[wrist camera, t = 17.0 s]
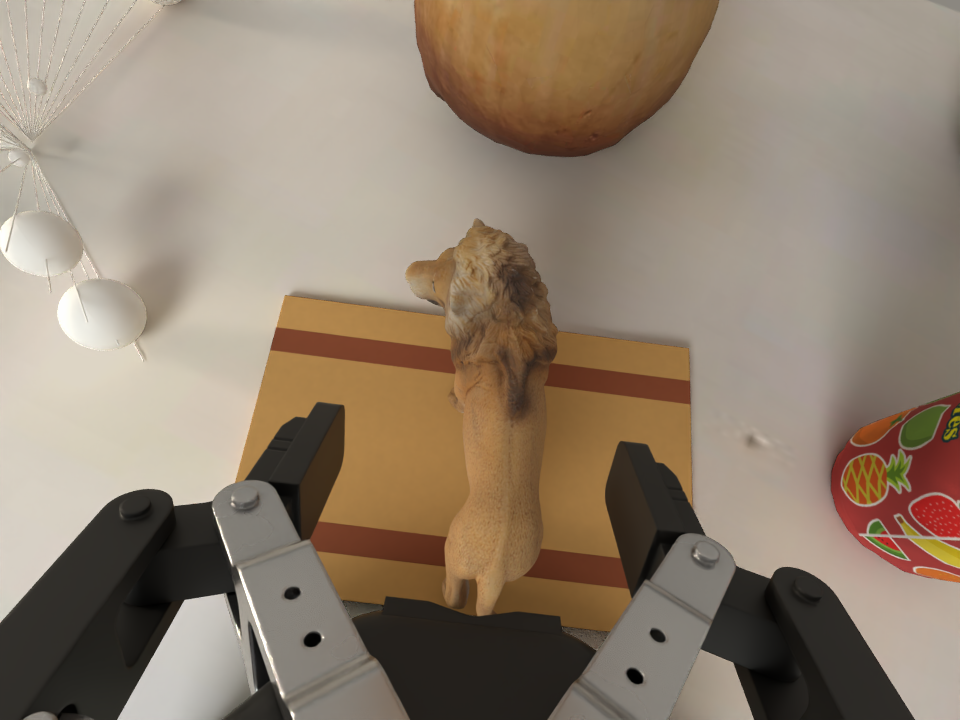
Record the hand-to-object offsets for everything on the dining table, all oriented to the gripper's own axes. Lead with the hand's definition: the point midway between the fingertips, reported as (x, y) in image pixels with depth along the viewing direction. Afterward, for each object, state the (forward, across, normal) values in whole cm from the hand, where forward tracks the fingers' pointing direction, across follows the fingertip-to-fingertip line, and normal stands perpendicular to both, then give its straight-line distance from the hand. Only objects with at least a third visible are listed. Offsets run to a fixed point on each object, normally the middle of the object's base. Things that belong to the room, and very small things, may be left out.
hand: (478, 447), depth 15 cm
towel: (+7, 0, +5) cm, 9 cm away
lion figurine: (+7, 0, +5) cm, 8 cm away
